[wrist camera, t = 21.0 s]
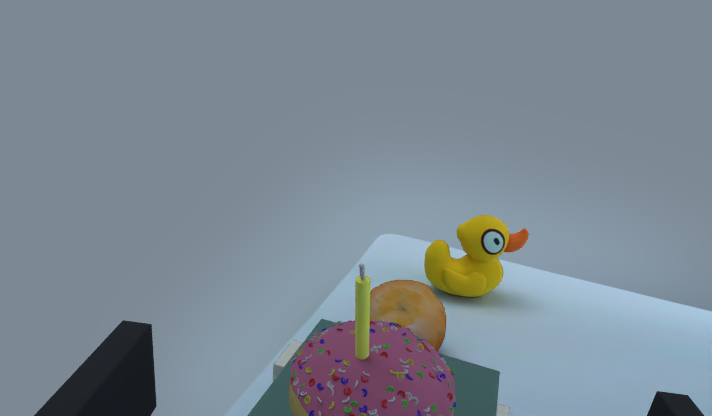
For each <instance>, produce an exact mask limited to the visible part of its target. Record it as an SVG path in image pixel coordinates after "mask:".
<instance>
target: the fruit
mask: <svg viewBox="0 0 712 416" xmlns="http://www.w3.org/2000/svg"><path fill="white" fill-rule="evenodd" d="M373 319H378V320H380V321H383V319H385V320H387V321H388V323H391V322H393V323H398V324H400V325H401V326H402V327H405V328H409V329H410V330H411V331H412V332H414V333H416V334H418V335H420V337H421V338H423V339H425V340H426V341H427V342H428V343H429V344H430V345H431V346H432V347H434V349H435V351H436V352H438V350H439V348H440V346H441V345H442V342H443V340H444V337H445V331H446V314H445V309H444V307H443V304H442V303H441V302H440V301H439V300H438V298H437V297H436V296H435V294H434V293H433V291H432V290H431V289H430V288H429V287H428V286H427V285H425V284H423V283H420V282H417V281H412V280H394V281H390V282H385V283H384V284H381V285H380V286H378V287H375V288H374V289H372V290H371V292H370V320H373ZM385 322H386V321H385Z"/></svg>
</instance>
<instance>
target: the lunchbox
mask: <svg viewBox="0 0 712 416" xmlns="http://www.w3.org/2000/svg"><path fill="white" fill-rule="evenodd" d="M333 325H337V323H334V322H331V321H328V320H324V319H321V320H320V322H319V323H318V324H317V325H316V327H315V328H314V329H313V331H312V332H311V333H310V335H309V336H308V337H307V339H306V340H305V341H304V343H303V342H301V341H298V340H295V339H293V340H292V342H291V343H290V344H289V345H288V347H287V348H286V349H285V350H284V352H283V353H282V354H281V355H280V357H279V358H278V359H277V360H276V361H275V363H274V369H273V383H272V384H271V386H270V387H269V388H268V390H267V391H266V392H265V394H264V395H263V396H262V398H261V399H260V400H259V401H258V403H257V404H256V405H255V407H254V408H253V409H252V411H251V412H250V413H249V415H248V416H294V415H293V414H292V412H291V409H290V404H289V383H290V368H291V365H292V363H293V362H292V360H293V359H294V358H295V357H296V356H297V353H298V351H299V350H301V348H302V347H303V346H304V344H305V343H306V341H307V340H309V339H311V338H312V337H311V336H314V335H315V333H317V334H318V333H320V332H321V331H322V330H323V329H325V328H326V329H328V328H330V327H332V326H333ZM323 331H324V330H323ZM438 354H439V353H438ZM439 355H441V356H442V357H443V358H444V359H445V360H446V365H447V366H449V367H450V370H451V371H452V372H453V374H454V376H453V378H454V382H455V403H456V407H454V414H453V416H509V413H510V408H509V407H507V406H504V405H501V404H497V397H498V386H499V375H500V372H499V371H496V370H492V369H489V368H486V367H482V366H479V365H476V364H472V363H469V362H466V361H462V360H459V359H455V358H452V357H449V356H445V355H442V354H439Z"/></svg>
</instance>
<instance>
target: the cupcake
mask: <svg viewBox="0 0 712 416" xmlns="http://www.w3.org/2000/svg"><path fill="white" fill-rule="evenodd" d="M359 267H360V276H358V277H357V278H356V306H355V321H348V322H344V323H342V322H340V321H339V322H337V325H333V326H332V327H330V328H328V329H326V328H325V329H323V330H324V331H323V330H322V331H321V332H320V333H318V334H317V333H315V335H314V336H311V337H312V338H311V339H309V340H307V341H306V343H305V344H304V346H303V347H302V348H301V350H299V351H298V353H297V356H296V357H295V358H294V359H293V360H292V362H293V363H292V365H291V368H290V383H289V404H290V409H291V412H292V414H293V415H294V416H453V414H454V407H456V403H455V382H454V378H453V376H454V374H453V372H452V371H451V370H450V367H449V366H447V365H446V360H445V359H444V358H443V357H442V356H441V355H439V354H438V353H437V352H436V351H435V349H434V347H432V346H431V345H430V344H429V343H428V342H427V341H426V340H425V339H423V338H421V337H420V335H418V334H416V333H414V332H412V331H411V330H410V329H409V328H405V327H402V326H401V325H400V324H398V323H393V322H391V323H388V321H387V320H385V319H383V321H380V320H378V319H373V320H370V286H371V280H370V278H369V277H368V276H366V275H365V273H364V271H365V269H364V265H363V264H359ZM385 321H386V322H385ZM338 323H340V324H338Z"/></svg>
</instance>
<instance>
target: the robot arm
mask: <svg viewBox="0 0 712 416" xmlns="http://www.w3.org/2000/svg"><path fill="white" fill-rule="evenodd" d="M151 327H152V326H151V324H146V323H137V322H131V321H122V322H121V323H120V324H119V325H118V326H117V327H116V329H115V330H114V331H113V332H112V333H111V334H110V335H109V336H108V337H107V338H106V339H105V340H104V341H103V343H102V344H101V345H100V346H99V347H98V348H97V349H96V350H95V351H94V352H93V353H92V354H91V356H90V357H88V359H87V360H86V361H85V362H84V363H83V364H82V365H81V366H80V367H79V368H78V369H77V370H76V371H75V373H74V374H73V375H72V376H71V377H70V378H69V379H68V380H67V381H66V382H65V383H64V384H63V385H62V386H61V388H59V390H58V391H57V392H56V393H55V394H54V395H53V396H52V397H51V398H50V399H49V400H48V401H47V402H46V404H45V405H44V406H43V407H42V408H41V409H40V410H39V411H38V412H37V413H36V414H35V415H34V416H151V414H152V412H153V411H154V409H155V407H156V393H155V375H154V359H153V344H152V343H153V342H152V328H151ZM647 416H704V415H703V414H702V412H701V411H700V410H699V409H698V407H697V406H696V405H695V404H694V402H693V401H692V400H691V399H690V397H689V396H688V395H682V394H674V393H667V392H659V391H657V393H656V395H655V398H654V400H653V402H652V405H651V407H650V410H649V412H648V415H647Z"/></svg>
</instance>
